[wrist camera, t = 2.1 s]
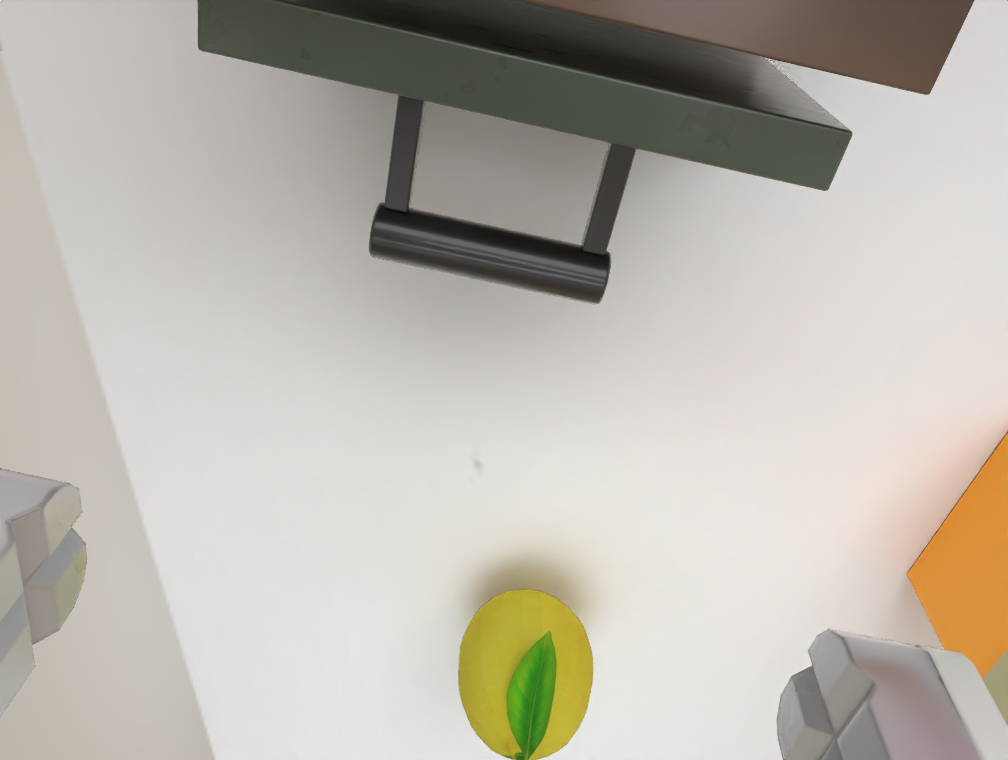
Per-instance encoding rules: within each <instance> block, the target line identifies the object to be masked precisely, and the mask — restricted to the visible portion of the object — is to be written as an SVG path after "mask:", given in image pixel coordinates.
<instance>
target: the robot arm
mask: <svg viewBox="0 0 1008 760" xmlns="http://www.w3.org/2000/svg"><path fill="white" fill-rule="evenodd" d="M81 513H82V506H81V499H80V493H79V488H77V487H75V486H73V485H71V484H69V483H66V482H61V481H57V480H52V479H47V478H42V477H38V476H34V475H28V474H24V473H20V472H15V471H10V470H6V469H1V468H0V718H1V716H2V715H3V713H4V712H5V710H6V709H7V707H8V706H9V704H10V703H11V701H12V700H13V698H14V697H15V695H16V694H17V692H18V691H19V689H20V688H21V687H22V685H23V683H24V682H25V681H26V679H27V677H28V676H29V675H30V673H31V671H32V670H33V669H34V667H35V661H34V655H33V648H32V645H33V644H35V643H37V642H39V641H41V640H42V639H44V638H46V637H48V636H50V635H51V634H53V633H55V632H57V631H59V630H60V628H61V626H62V625H63V623H64V622H65V620H66V619H67V617H68V616H69V614H70V612H71V611H72V609H73V608H74V605H75V603H76V600H77V598H78V595H79V592H80V590H81V587H82V584H83V582H84V577H85V570H86V563H87V555H86V543H85V542H84V541H83V540H82V539H81V537H80V536H79V535H78V534H77V533H76V532H75V531H74V530H73V528H72V526H73V524H74V523H75V522H76V520H77V519H78V517H79V516H80V514H81ZM808 652H809V655H810V659H811V662H812V665H813V666H811V667H809V668H807V669H805V670H803V671H801V672H799V673H797V674H795V675H793V676H791V678H790V680H789V682H788V684H787V685H786V687H785V689H784V691H783V693H782V694H781V697H780V703H779V709H778V715H777V731H778V741H779V745H780V750H781V754H782V758H783V760H1008V726H1007V724H1006V722H1005V720H1004V718H1003V717H1002V715H1001V713H1000V711H999V709H998V707H997V706H996V704H995V702H994V700H993V698H992V696H991V694H990V693H989V691H988V689H987V687H986V685H985V683H984V682H983V680H982V678H981V676H980V674H979V672H978V671H977V669H976V667H975V665H974V664H973V663H972V662H971V661H970V660H969V659H968V658H967V657H966V656H965V655H963V654H962V653H959V652H953V651H947V650H942V649H936V648H931V647H925V646H920V645H911V644H909V643H903V642H898V641H892V640H887V639H881V638H876V637H870V636H865V635H859V634H854V633H848V632H843V631H837V630H832V629H828V630H826V631H824V632H823V633H821V634H819V635H818V636H817V637H816V639H815V640H814V642H813V643H812V645H811V646H810V648H809V649H808Z"/></svg>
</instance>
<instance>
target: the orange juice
mask: <svg viewBox="0 0 1008 760" xmlns="http://www.w3.org/2000/svg"><path fill="white" fill-rule="evenodd" d="M907 576H908V578H909V580H910V582H911V584H912V586H913V588H914V590H915V592H916V594H917V595H918V597H919V599H920V601H921V603H922V605H923V607H924V609H925V611H926V613H927V615H928V617H929V619H930V621H931V623H932V625H933V627H934V629H935V631H936V633H937V635H938V637H939V639H940V641H941V643H942V645H943V647H944V649H945V650H947V651H953V652H959V653H962V654H963V655H965V656H966V657H967V658H968V659H969V660H970V661H971V662H972V663H973V664H974V665H975V667H976V669H977V671H978V672H979V674H980V676H981V678H982V680H983V682H984V683H985V685H986V687H987V689H988V691H989V693H990V694H991V696H992V698H993V700H994V702H995V704H996V706H997V707H998V709H999V711H1000V713H1001V715H1002V717H1003V718H1004V720H1005V722H1006V724H1007V726H1008V433H1007V434H1006V435H1005V437H1004V438H1003V440H1002V441H1001V442H1000V444H999V445H998V447H997V448H996V450H995V451H994V452H993V454H992V455H991V457H990V458H989V459H988V461H987V462H986V464H985V465H984V466H983V468H982V469H981V471H980V472H979V473H978V475H977V476H976V478H975V479H974V480H973V482H972V483H971V485H970V486H969V487H968V489H967V490H966V492H965V493H964V495H963V496H962V497H961V499H960V500H959V502H958V503H957V504H956V506H955V507H954V509H953V510H952V511H951V513H950V514H949V516H948V517H947V518H946V520H945V521H944V523H943V524H942V525H941V527H940V528H939V530H938V531H937V532H936V534H935V535H934V537H933V538H932V539H931V541H930V542H929V544H928V545H927V547H926V548H925V549H924V551H923V552H922V554H921V555H920V556H919V558H918V559H917V561H916V562H915V563H914V565H913V566H912V568H911V569H910V570H909V572H908V573H907Z"/></svg>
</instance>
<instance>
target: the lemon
mask: <svg viewBox="0 0 1008 760" xmlns="http://www.w3.org/2000/svg"><path fill="white" fill-rule="evenodd" d="M458 680H459V691H460V697H461V700H462V704H463V707H464V710H465V712H466V715H467V717H468V720H469V722H470V724H471V726H472V728H473V729H474V731H475V732H476V734H477V735H478V736H479V737H480V739H481V740H482V741H483V742H484V743H485V744H486V745H487V746H488V747H489V748H490V749H491V750H492V751H494V752H496V753H498V754H500V755H502V756H504V757H507V758H510V759H514V760H537V759H540V758H543V757H546V756H549V755H551V754H553V753H555V752H557V751H559V750H560V749H561V748H563V747H564V746H565V745H566V744H567V743H568V742H569V740H570V739H571V738H572V737H573V735H574V734H575V732H576V731H577V729H578V728H579V726H580V724H581V722H582V720H583V718H584V716H585V713H586V710H587V706H588V702H589V697H590V692H591V687H592V681H593V657H592V651H591V647H590V644H589V640H588V637H587V634H586V631H585V629H584V626H583V625H582V623H581V622H580V620H579V619H578V618H577V616H576V615H575V614H574V613H573V612H572V611H571V610H570V609H569V608H568V607H567V606H566V605H564V604H563V603H562V602H560V601H559V600H557V599H556V598H555V597H553V596H551V595H548V594H546V593H543V592H540V591H535V590H529V589H518V590H510V591H507V592H504V593H502V594H499V595H497V596H495V597H493V598H492V599H491V600H489V601H488V602H487V603H486V604H484V605H483V606H482V607H481V608H479V610H478V611H477V612H476V614H475V615H474V617H473V619H472V620H471V622H470V624H469V626H468V627H467V629H466V631H465V634H464V636H463V639H462V643H461V646H460V657H459V671H458Z"/></svg>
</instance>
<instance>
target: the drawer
mask: <svg viewBox="0 0 1008 760" xmlns="http://www.w3.org/2000/svg"><path fill="white" fill-rule="evenodd" d="M198 48H199V50H201V51H204V52H209V53H213V54H217V55H222V56H226V57H231V58H235V59H240V60H244V61H249V62H253V63H258V64H262V65H266V66H271V67H275V68H280V69H284V70H289V71H293V72H298V73H302V74H306V75H311V76H315V77H320V78H324V79H329V80H333V81H338V82H342V83H346V84H351V85H355V86H360V87H364V88H369V89H373V90H378V91H382V92H387V93H391V94H395V95H398V102H397V110H396V118H395V126H394V133H393V141H392V149H391V157H390V164H389V172H388V180H387V188H386V196H385V203H384V202H382V203H379V205H378V206H377V208H376V211H375V214H374V217H373V222H372V226H371V232H370V239H369V253H370V256H372V257H374V258H378V259H383V260H388V261H393V262H397V263H402V264H407V265H411V266H416V267H421V268H425V269H430V270H435V271H440V272H444V273H449V274H454V275H458V276H463V277H468V278H473V279H477V280H482V281H487V282H491V283H496V284H501V285H506V286H510V287H515V288H520V289H524V290H529V291H534V292H538V293H543V294H548V295H553V296H557V297H562V298H567V299H571V300H576V301H581V302H586V303H590V304H595V305H596V304H599V303H600V301H601V300H602V298H603V296H604V293H605V290H606V286H607V283H608V279H609V274H610V268H611V254H610V252H608V251H606V250H607V247H608V244H609V240H610V237H611V233H612V230H613V227H614V223H615V220H616V216H617V213H618V210H619V206H620V203H621V199H622V196H623V193H624V189H625V186H626V183H627V179H628V176H629V172H630V169H631V166H632V162H633V159H634V155H635V152H636V149H640V150H645V151H649V152H654V153H658V154H662V155H667V156H671V157H676V158H680V159H685V160H689V161H694V162H698V163H702V164H707V165H711V166H716V167H720V168H725V169H729V170H734V171H738V172H743V173H747V174H751V175H756V176H760V177H765V178H769V179H774V180H778V181H783V182H787V183H791V184H796V185H800V186H805V187H809V188H814V189H818V190H823V191H826V190H828V189H829V187H830V185H831V183H832V180H833V178H834V176H835V173H836V171H837V169H838V166H839V164H840V162H841V160H842V157H843V155H844V153H845V150H846V148H847V146H848V144H849V141H850V139H851V137H852V132H851V131H850V130H849V129H848V128H847V127H845V126H844V125H843V124H842V123H841V122H840V121H838V120H837V119H836V118H835V117H834V116H832V115H831V114H830V113H829V112H828V111H826V110H825V109H824V108H823V107H822V106H821V105H819V104H818V103H817V102H816V101H815V100H813V99H812V98H811V97H810V96H809V95H808V94H806V93H805V92H804V91H803V90H802V89H800V88H799V87H798V86H797V85H796V84H794V83H793V82H792V81H791V80H790V79H789V78H787V77H786V76H785V75H784V74H783V73H781V72H780V71H779V70H778V69H777V68H776V67H774V66H773V65H772V64H771V63H770V62H768V61H767V60H766V59H765V58H764V57H761V56H757V55H753V54H749V53H744V52H740V51H736V50H731V49H727V48H723V47H719V46H714V45H710V44H706V43H702V42H697V41H693V40H689V39H684V38H680V37H676V36H672V35H667V34H663V33H659V32H654V31H650V30H646V29H642V28H637V27H633V26H629V25H625V24H620V23H616V22H612V21H607V20H603V19H599V18H595V17H590V16H586V15H582V14H578V13H573V12H569V11H565V10H560V9H556V8H552V7H548V6H543V5H539V4H535V3H530V2H526V1H522V0H198ZM426 101H427V102H431V103H435V104H440V105H444V106H449V107H453V108H458V109H462V110H467V111H471V112H476V113H480V114H484V115H489V116H493V117H498V118H502V119H507V120H511V121H516V122H520V123H524V124H529V125H533V126H538V127H542V128H547V129H551V130H556V131H560V132H565V133H569V134H573V135H578V136H582V137H587V138H591V139H596V140H600V141H605V142H609V144H608V147H607V151H606V155H605V158H604V162H603V166H602V169H601V173H600V177H599V180H598V184H597V187H596V191H595V195H594V198H593V202H592V206H591V209H590V213H589V217H588V220H587V224H586V227H585V231H584V235H583V238H582V245H578V244H573V243H569V242H564V241H560V240H555V239H550V238H546V237H541V236H536V235H532V234H527V233H523V232H518V231H513V230H509V229H504V228H500V227H495V226H490V225H486V224H481V223H476V222H472V221H467V220H463V219H458V218H453V217H449V216H444V215H440V214H435V213H430V212H426V211H421V210H416V209H412V208H410V206H411V202H412V195H413V189H414V182H415V175H416V168H417V161H418V155H419V148H420V141H421V134H422V128H423V121H424V114H425V107H426Z"/></svg>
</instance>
